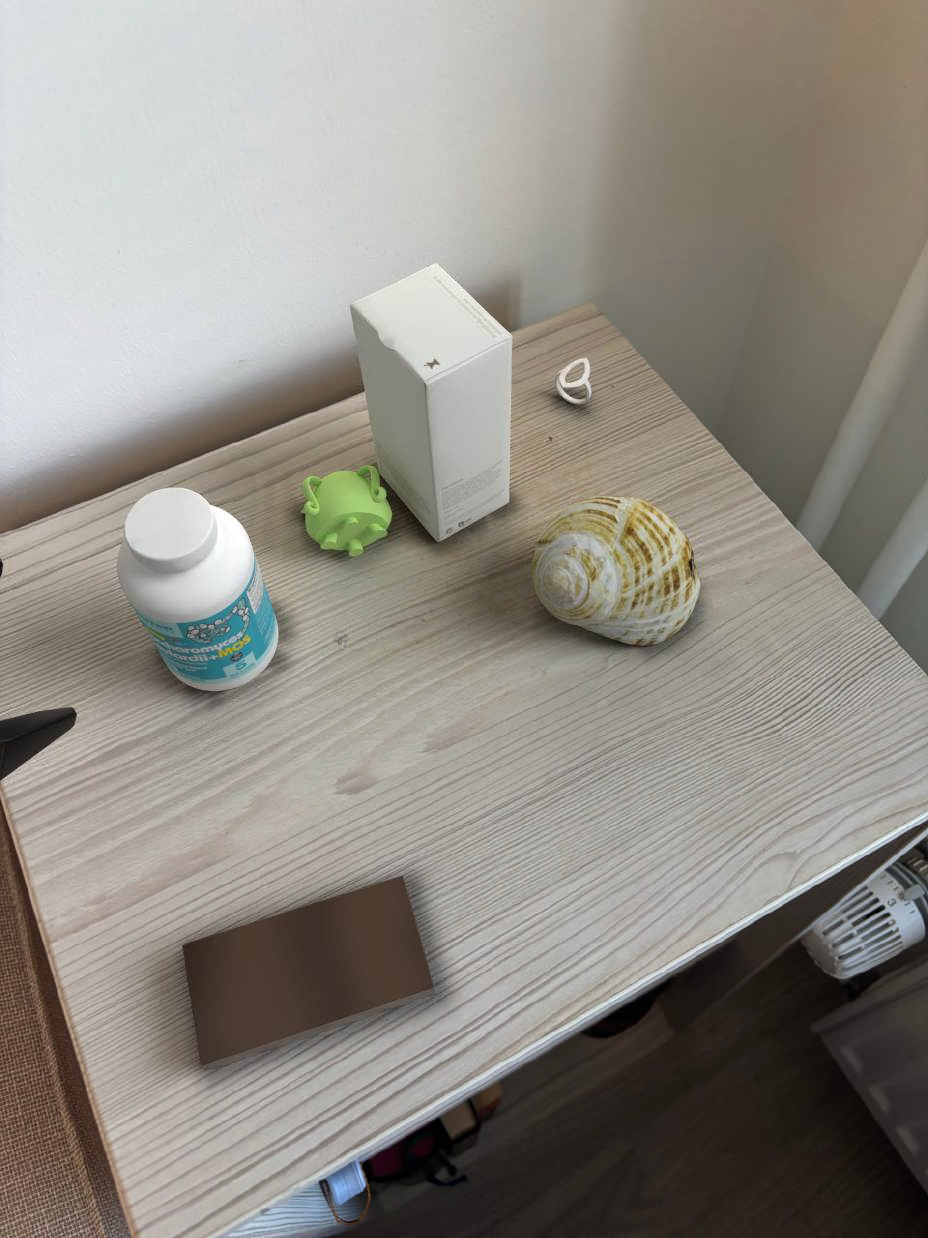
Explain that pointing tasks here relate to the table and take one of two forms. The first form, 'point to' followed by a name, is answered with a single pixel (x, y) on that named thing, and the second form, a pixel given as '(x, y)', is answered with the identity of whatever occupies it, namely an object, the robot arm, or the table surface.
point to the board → (305, 972)
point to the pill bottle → (197, 589)
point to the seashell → (616, 570)
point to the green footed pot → (346, 509)
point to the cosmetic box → (437, 398)
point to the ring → (581, 381)
